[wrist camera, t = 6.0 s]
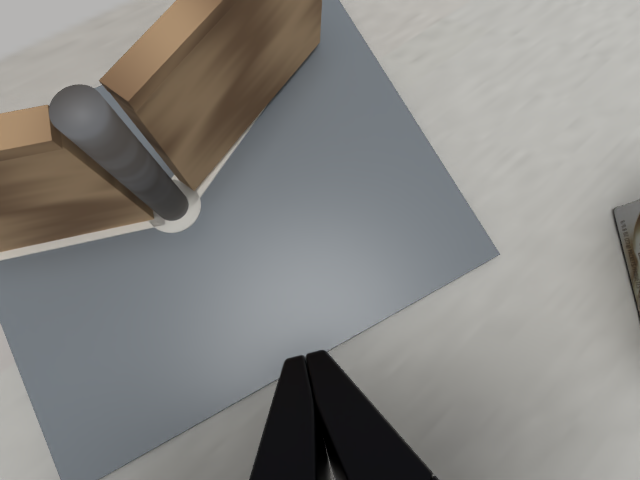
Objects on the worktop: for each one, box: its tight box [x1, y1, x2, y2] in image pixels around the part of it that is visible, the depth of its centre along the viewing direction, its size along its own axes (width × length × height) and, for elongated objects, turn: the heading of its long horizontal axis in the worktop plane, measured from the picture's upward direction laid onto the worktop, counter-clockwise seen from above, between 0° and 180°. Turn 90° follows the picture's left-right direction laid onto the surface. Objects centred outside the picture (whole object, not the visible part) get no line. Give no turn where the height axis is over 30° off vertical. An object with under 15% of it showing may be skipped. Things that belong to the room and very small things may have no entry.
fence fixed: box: [0, 85, 189, 252], centre depth 17 cm, size 2×10×10 cm, turn 103°
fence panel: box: [99, 0, 322, 191], centre depth 19 cm, size 11×1×9 cm, turn 144°
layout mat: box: [0, 0, 500, 480], centre depth 22 cm, size 18×23×1 cm
